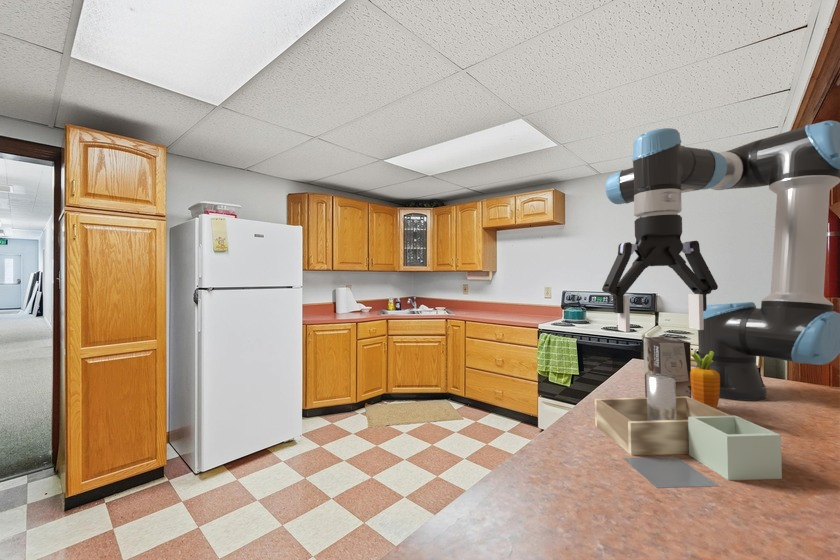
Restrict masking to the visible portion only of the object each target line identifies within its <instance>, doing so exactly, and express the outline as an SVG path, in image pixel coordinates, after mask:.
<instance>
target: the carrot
mask: <svg viewBox="0 0 840 560" xmlns="http://www.w3.org/2000/svg"><path fill="white" fill-rule="evenodd" d="M691 356H692V357H691V358H693V359H694V360H695V362H696V364H698V365H699V367H698V368H696V367H693V368H691V372H690V379H691V397H692V399H694V400H697V401H699V402H701V403H704V404H706V405H708V406H710V407H713V408H715V409H717V408H718V405H719V400H720V397H719V396H720V375H719V373H718V372H717V371H715V370H713V369H711V368H708V367H709V366H710V365H711V364H712V362H713V360H712V358H713V356H714V352H713V351H710V353H709V355H707V354H706V356H705V357H704V359H702V361H701V358H700V356H699V353H695V352H692V353H691ZM717 410H718V409H717Z"/></svg>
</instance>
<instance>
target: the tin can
mask: <svg viewBox="0 0 840 560" xmlns="http://www.w3.org/2000/svg"><path fill="white" fill-rule="evenodd" d="M646 380H647V421H659V420H676V378H675V377H674V376H671V375H666V374H647V375H646Z"/></svg>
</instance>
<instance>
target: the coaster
mask: <svg viewBox="0 0 840 560" xmlns="http://www.w3.org/2000/svg"><path fill="white" fill-rule="evenodd" d="M622 459H623V460H624V461H625V462H626V463H627V464H629V465H630V467H632V468H633V469H635V471H637V472H638V473H639V474H640V475H641V476H642V477H643V478H645V479H646V481H649V482H650V484H652V485H653V486H654V487H655V488H656V489H669V488H672V489H673V488H704V487H705V488H706V487H709V488H710V487H720V485H719V484H717V483H716V482H715V481H713V480H712V479H710V478H709V477H707V476H706V475H705V474H703V473H701V472H700V471H698V470H697V469H696V468H694V467H693V466H691V465H689V464H688V463H686V461H684V460H682V459H681V458H680V457H679V456H652V457H623V458H622Z"/></svg>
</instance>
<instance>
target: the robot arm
mask: <svg viewBox="0 0 840 560" xmlns="http://www.w3.org/2000/svg"><path fill="white" fill-rule="evenodd" d="M681 144H682V140H681V136H680V132H679V130H677V129H676V128H671V127H670V128H669V127H667V128H657V129H652V130H649V131H647V132H645V133H642V134H640V135H639V136H637V137H636V138H635V139H634V141H633V148H632V150H633V151H632V158H631V161H632V167H630V168H628V169H627V168H626V169H624V170H623V169H622V170H620V171H619V172H616V173H613V174H612V175H610V176H609V177H608V178H607V180H606V182H605V187H604V189H605V192H606V197H607V199H608V200H609V202H611V203H613V204H615V205H622V204H624V205H625V204H631V203H633V215H634V216H635V218H636V219H635V220H634V237H635V243H631V242H629V241H628V242H621V243H619V244H618V248H617V256H616V258H615V260H614V262H613V264H612V267H611V268H610V270H609V273H608V274H607V277H606V279H605V282H604V283H603V285H602V288H601V290H602V292H603V293H607V294H610V295H611V296H612V303H613V304H612V306H613V307H612V308H613V309H612V310H613V312H614V313H615V314H617V330H618V331H622V332H624V333H630V332H631V325H630V322H631V321H630V319H631V316H630V313H631V311H630V296H629V295H625V294H626V293H627V292H628V291H629V289H630V288H631V287H632V286H633V284H634V283H635V282H636V281H637V279H638V278H639V277H640V276H641V274H643V272H644V271H645V270H646V269H647V268H649V267H665V266H667V267H669V268H671V269H672V271H674V273H675V274H677V276H678V277H679V278H680V279H681V280H682V282H683V283H684V284H685V285H686V286H687V287H688V288H689V289H690V291H691V292H692V293H688V294H687V295H688V296H687V297H688V303H687V304H688V328H689V329H691V330H697V334H698V335H697V336H698V337H697V339H698V340H697V341H698V355H699V356H700V358H701V361H702V359H704V357H705V356H706V354H707V355H709V353H710V351H713V352H714V356H713V358H712V360H713V362H712V364H711V365H710V366H709V367H708V368H711V369H713V370H715V371H717V372H718V373H719V375H720V396H719V398H721V399H728V400H737V401H738V400H739V401H759V400H764V399H766V398H767V386H766V385H765V384H764V380H763V378H762V375H761V373H760V370H759V367H758V365H757V357H760V358H768V359H774V360H779V361H785V362H793V363H795V364H807V365H816V366H817V365H818V366H820V365H821V366H823V365H826V364H827V365H828V364H829V363H831V362H832V361H834V360H836V358H837V357H838V356H839V355H840V313H839V312H837V311H835V310H834V304H833V302H831V301H830V300H829V299H827V298H826V297H825V279H826V263H827V261H826V259H827V244H828V243H827V242H828V241H827V239H828V226H829V211H830V210H829V208H830V207H829V204H830V193H831V192H830V191H831V189H833V188H835V187H836V186H837V185H838V184H840V122H839V121H837V120H825V121H821V122H816V123H813V124H807V125H805V126H802V127H799V128H795V129H792V130H788V131H786V132H782V133H779V134H776V135H773V136H768V137H764V138H761V139H758V140H754V141H751V142H749V143H746V144H743V145H740V146H738V147H735V148H732V149H729V150H726V151H720V152H716V151H713V150H711V149H708V148H698V147H697V148H696V147H691V146H690V147H689V146H685V145H681ZM766 186H768V189H769V190H770V191H771V192H773V193H774V194H775V195H776V203H775V204H776V205H775V219H774V235H773V250H772V251H773V253H772V266H771V282H770V284H771V285H770V294H768V295H767V296H765V297H764V298H762V299H761V303H760V304H761V306H760V307H758V308H757V306H756V304H755V302H753V301H747V302H735V303H733V302H732V303H721V304H717V303H716V304H707V302H708V301H707V295H710V294H711V293H712V291H716V290H718V288H719V285H718V284H717V281H716V279H715V278H714V275H713V274H712V272H711V270H710V268H709V266H708V265H707V263H706V260H705V258H704V256H703V255H702V253H701V249H700V243H699V241H698V240H690V241H685V242H682V238H681V237H682V234H683V216H682V215H680V213H681V212H682V211H683V210H682V209H683V208H682V194H683V193H688V192H689V193H690V192H696V191H701V190H702V191H703V190H709V189H711V190H714V191H724V190H734V189H735V190H736V189H737V190H738V189H748V188H749V189H750V188H760V187H766ZM634 252H635V254H636V255H637V257H636V258H635V259H634V261H633V262H632V264H631V266H630V268H629V269H628V270H627V272H625V270H626V267H627V266H628V264H629V261H630V259H631V256H632V255H633V254H634ZM681 253H683V254H684V256H685V258H686V259H684V257H683V256H682V255H681ZM687 263H688V264H689V266H690V267H689V266H688V265H687ZM624 272H625V273H624ZM623 274H624V275H623ZM696 364H697V363H696ZM698 367H699V365H698V364H697V365H696V366H695V368H698Z"/></svg>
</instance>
